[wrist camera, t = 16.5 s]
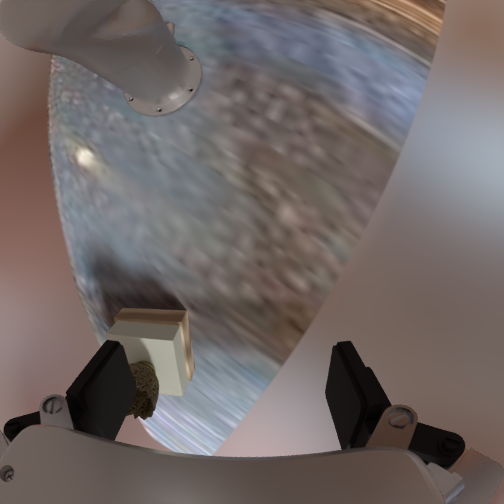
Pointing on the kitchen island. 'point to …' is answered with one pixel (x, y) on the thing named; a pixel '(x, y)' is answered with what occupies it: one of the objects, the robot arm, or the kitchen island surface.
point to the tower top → (155, 351)
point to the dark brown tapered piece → (144, 389)
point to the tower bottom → (168, 319)
